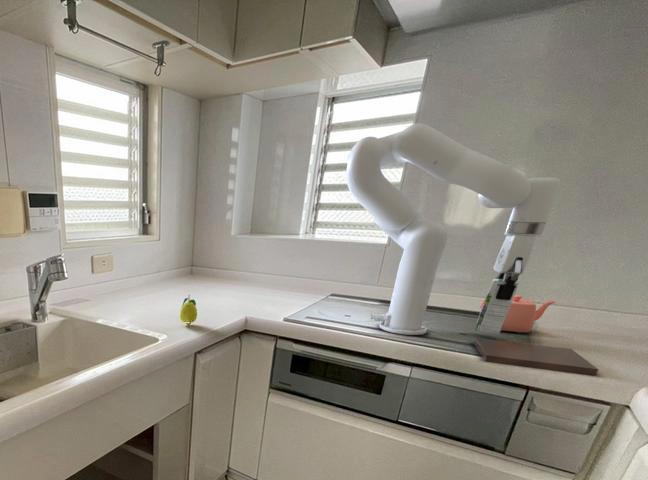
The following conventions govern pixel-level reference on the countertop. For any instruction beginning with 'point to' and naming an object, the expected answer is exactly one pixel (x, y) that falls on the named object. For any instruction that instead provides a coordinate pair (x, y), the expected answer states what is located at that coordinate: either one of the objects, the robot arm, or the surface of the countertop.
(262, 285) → the countertop surface
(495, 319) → the syrup box
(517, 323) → the teapot
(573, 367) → the cutting board
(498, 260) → the robot arm
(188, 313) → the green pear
